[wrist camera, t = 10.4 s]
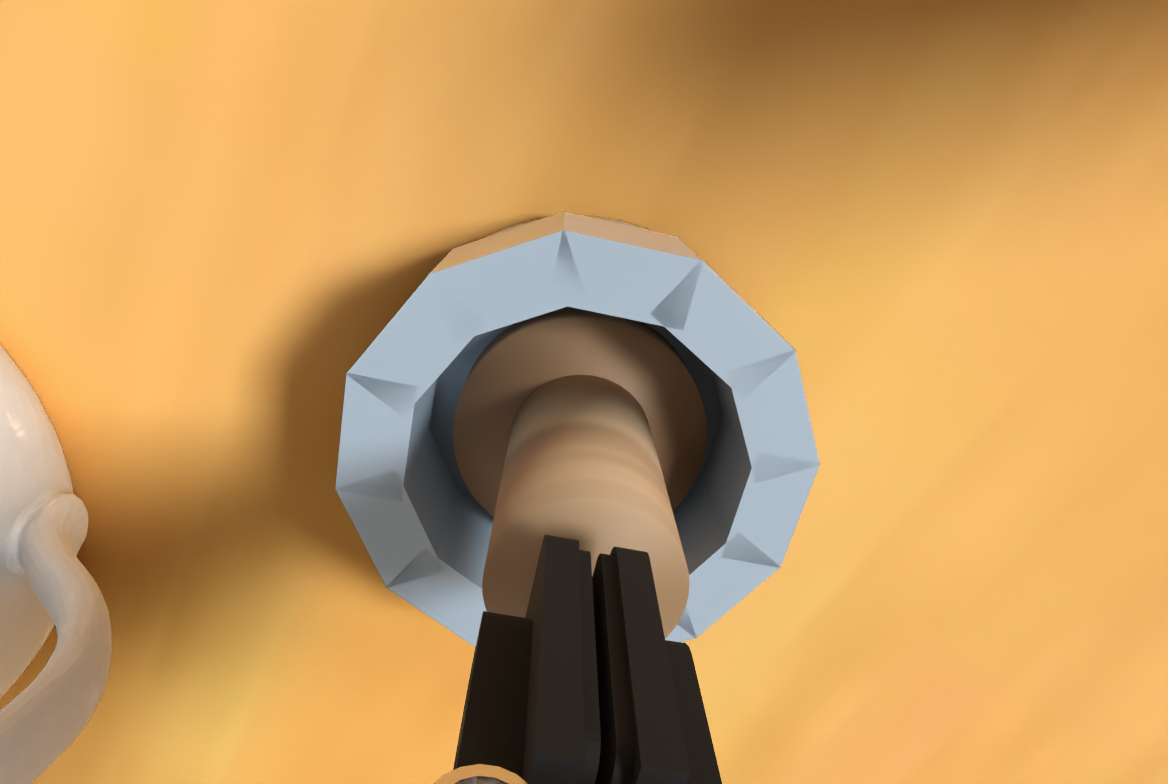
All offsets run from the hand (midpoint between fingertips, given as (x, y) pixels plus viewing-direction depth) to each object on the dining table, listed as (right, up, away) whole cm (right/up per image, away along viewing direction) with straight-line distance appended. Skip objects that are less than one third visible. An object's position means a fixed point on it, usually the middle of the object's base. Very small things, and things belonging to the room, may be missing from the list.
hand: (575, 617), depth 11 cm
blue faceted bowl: (0, +3, +8) cm, 9 cm away
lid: (0, +3, +8) cm, 8 cm away
